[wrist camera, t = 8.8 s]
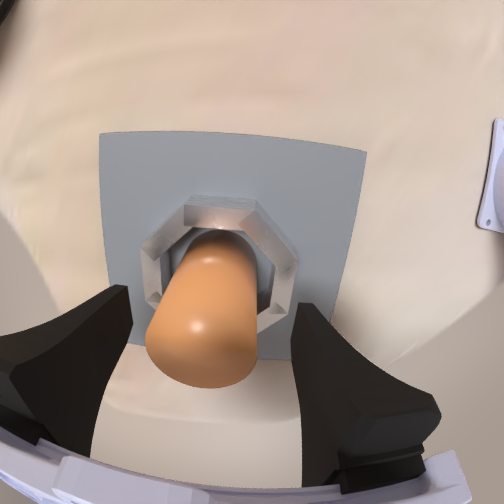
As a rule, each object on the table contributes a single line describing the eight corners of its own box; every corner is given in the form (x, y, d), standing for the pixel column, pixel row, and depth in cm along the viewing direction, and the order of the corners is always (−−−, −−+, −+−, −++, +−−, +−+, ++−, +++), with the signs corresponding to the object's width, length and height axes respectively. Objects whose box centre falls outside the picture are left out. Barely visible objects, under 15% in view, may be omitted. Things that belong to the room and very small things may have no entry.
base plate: (360, 150, 14) (366, 152, 13) (315, 351, 20) (317, 360, 19) (107, 132, 14) (99, 133, 13) (125, 333, 20) (121, 341, 19)
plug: (260, 233, 15) (263, 313, 9) (253, 297, 17) (251, 392, 11) (184, 226, 15) (138, 300, 9) (185, 290, 17) (152, 380, 10)
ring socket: (299, 203, 15) (305, 214, 13) (279, 324, 18) (281, 345, 16) (151, 192, 14) (137, 202, 13) (158, 312, 18) (149, 332, 16)
